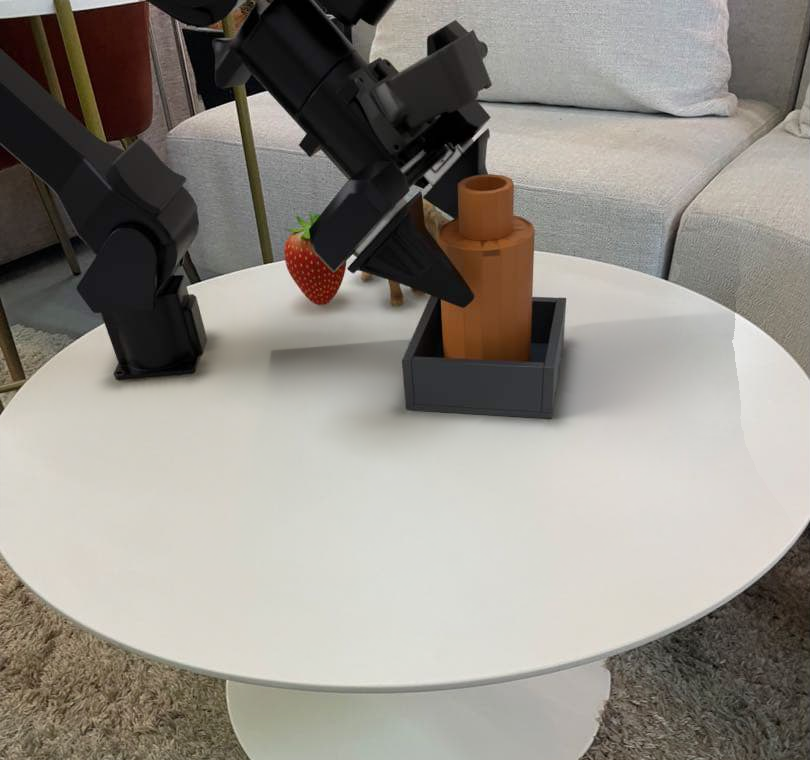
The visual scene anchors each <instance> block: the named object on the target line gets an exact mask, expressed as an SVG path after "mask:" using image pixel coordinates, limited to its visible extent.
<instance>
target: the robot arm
mask: <svg viewBox="0 0 810 760" xmlns="http://www.w3.org/2000/svg"><path fill="white" fill-rule="evenodd" d="M145 1H146V2H147V3H149V4H151V5H152V6H154V7H155V8H157V9H159V10H160V11H162V12H163V13H165V14H166V15H168V16H170V17H171V18H173V19H174V20H176V21H178V22H180V23H181V24H183V25H187V26H191V27H195V28H205V27H210V26H214V25H215V24H217V23H219V22H220V21H223V20H224V19H227V18H228V17H229V16H230V15H231V14H232V13H234V12H235V11H236V10H237V9H239V8H240V7H241V6H242V5H243V4H245V3H246V2H247V0H145ZM317 1H318V2H319V3H320V5H321V6H323V8H324V9H326V11H327V12H328V13H330V15H331V16H333V18H335V19H336V20H337V21H338V22H340V23H341V24H342V25H343V26H345V27H347V28H349V29H353V28H354V27H355V26H357V25H358V24H359V22H360V21H363V22H364V23H366V24H368V25H370V26H372V27H377V26H378V25H379V23H380V22H381V21H382V20H383V18H384V17H385V16H386V14H387V13H388V12H389V10H390V9H391V8H392V7H393V6H394V4H395V3H396V2H397V0H317ZM212 47H213V51H214V56H215V63H214V64H215V65H214V80H215V84H216V87H218V88H219V89H228V88H233V87H239V86H244V85H245V84H246V83H247V82H248V81H249V79H250V77H251V76H253V77H254V78H255V79H256V80H257V81H258V82H259V84H261V86H262V87H263V88H264V89H265V90H266V91H267V93H269V95H271V97H272V98H273V99H274V100H275V101H276V102H277V104H279V106H281V108H282V109H284V111H285V112H286V113H287V114H288V115H289V117H291V119H292V120H293V121H294V122H295V123H296V124H297V125H298V126H299V127H300V129H301V130H302V131H303V132H304V133H305V135H304V136H303V137H302V139H301V141H299V143H298V146H299V147H300V149H302V150H303V152H304V153H305V154H306V155H307V156H308V157H309V158H311V157H313V156H314V155H315V154H317V153H318V152H320V151H321V152H323V154H324V155H325V156H326V157H327V158H328V159H329V160H330V161H331V163H332V164H333V165H334V166H335V167H336V169H338V170H339V171H340V173H342V174H343V176H344V177H345V178H346V179H347V181H346V182H345V183H344V185H343V186H342V187H341V189H340V190H339V191H338V192H337V193H336V194H335V196H334V197H333V199H332V200H331V201H330V202H329V203H328V205H327V206H326V207H325V208H324V210H323V211H322V212H321V213H320V214H319V215H320V216H319V217H318V218H317V220H316V221H315V222H314V223H313V225H312V226H311V227H310V228H309V234H310V241H311V248H312V251H313V252H314V253H315V254H316V255H317V256H318V257H319V258H320V259H321V260H322V261H323V262H324V264H325V265H326V266H327V267H328V268H329V269H330V270H331V271H332V272H333V273H334V272H335V271H336V270H337V269H338V268H339V267H340V266H341V265H342V264H343V263H344V262H345V261H346V260H347V261H348V260H350V258H351V257H352V256H354V255H353V254H354V252H355V251H356V252H357V253H358V254H359V256H358V257H355V259H354V260H353V261H352V262H351V263H350V265H348V267H346V269H347V271H348V272H350V273H351V274H355V273H357V272H361V273H362V272H365V273H369V274H372V275H373V276H375V277H379V278H382V279H385V280H387V281H388V280H391V281H394V282H397V283H400V285H403V286H406V287H408V288H409V289H411V288H413V289H416V290H418V291H421V292H423V293H426V294H425V295H428V296H434V297H436V298H439V299H441V300H444V301H446V302H449V303H451V304H454V305H456V306H459V307H461V308H464V307H466V306H467V305H468V304H470V303H471V302H472V301H473V299H474V297H475V296H474V293H473V292H472V290H471V289H470V287H469V286H468V284H467V283H466V281H465V280H464V278H463V277H462V275H461V274H460V273H459V271H458V270H457V269H456V267H455V266H454V265H453V263H452V262H451V261H450V259H449V258H448V257H447V255H446V254H445V253H444V251H443V250H442V249H441V247H440V246H439V245H438V243H437V242H436V241H435V239H434V238H433V237H432V235H431V234H430V233H429V231H428V230H427V228H426V226H425V220H424V209H423V198H424V199H425V200H427V201H428V202H430V203H431V204H433V205H434V206H435V208H437V209H438V210H440V211H441V212H443V213H444V214H447V215H448V216H449V217H450V218H452V219H455V218H459V215H458V183H459V182H461V181H462V180H463V179H465V178H468V177H472V176H476V175H485V174H489V173H488V169H487V165H486V161H487V151H488V150H487V149H488V140H489V139H490V137H491V133H490V132H491V131H490V128H488V127H487V129H485V130H484V131H483V132H482V133H481V134H480V135H479V136H478V137H477V138H476V139H475V140H474V139H473V138H475V136H476V135H477V133H479V132H480V130H482V128H483V127H484V126H485V125H486V124H487V123H488V122H489V121H490V119H491V118H492V117H491V116H490V114H489V113H488V112H487V110H485V108H484V107H483V106H482V105H481V103H479V101H478V100H477V98H478V97H479V92H480V91H482V90H488V89H490V87H492V85H493V84H492V81H491V78H490V75H489V72H488V70H487V68H486V65H485V62H484V58H487V55H488V53H489V47H488V45H487V44H486V43H485V42H484V41H481V40H479V37H478V36H477V33H476V31H475V30H474V29H472V30H471V31H468V30H467V29H466V28H464V26H463V25H462V24H461V23H460V22H458V20H457V19H455V20H453V21H451V22H450V23H448V24H446V25H445V26H443V27H441V28H439V29H437V30H435V31H434V32H432V33H430V34H429V35H428V36H427V38H426V56H425V57H423V58H421V59H419V60H418V61H415V63H413V64H411V65H409V66H408V67H406V68H404V69H402V70H401V71H399V70H398V69H397V68H396V67H395V66H394V64H392V62H391V61H390V60H388V59H386V58H383V59H382V58H381V57H378V58H377V59H374V60H373V61H371V62H368V61H367V60H366V58H364V56H363V55H362V54H361V53H360V51H358V49H357V48H356V47H355V46H354V45H353V44H352V43H351V42H350V40H349V39H348V38H347V37H346V36H345V35H344V34H343V32H342V31H341V30H340V29H339V27H338V26H337V25H335V23H334V22H333V21H332V19H331V18H330V17H329V16H328V15H327V14H326V13H325V11H324V10H323V9H322V8H321V7H320V6H319V5H318V3H316V1H315V0H272V1H271V2H268V1H265V0H257V1H256V2H255V3H254V5H253V7H252V8H251V9H250V11H249V12H248V14H247V16H246V17H245V18H244V20H243V21H242V23H241V24H240V26H239V27H238V29H237V31H236V32H235V33H234V35H233V37H232V38H231V37H219V38H218V37H217V38H214V39H212ZM0 145H1V147H2V148H4V149H5V150H6V151H7V152H8V153H10V154H11V155H12V156H13V157H14V158H15V159H17V161H18V162H20V163H21V164H23V166H24V167H26V168H27V169H29V171H31V173H33V174H34V175H35V176H36V177H38V178H39V179H40V180H41V181H42V183H44V184H46V185H47V186H48V187H49V188H50V190H52V191H53V192H54V193H55V195H56V196H57V198H58V200H59V201H60V203H61V205H62V208H63V209H64V211H65V213H66V215H67V217H68V219H69V221H70V223H71V225H72V227H73V228H74V230H75V233H76V234H77V236H78V237H79V238H80V239H81V241H83V243H84V244H85V245H86V246H87V247H88V248H89V249H90V250H91V252H93V254H94V255H95V257H94V259H93V260H92V262H91V264H90V265H89V267H87V270H86V272H85V273H84V275H83V276H82V278H81V279H80V280H79V282H78V284H77V286H76V291H77V293H78V294H79V296H80V297H81V299H82V300H83V301H84V303H85V304H86V305H87V306H88V308H89V309H90V310H91V312H92V313H94V314H101V318H102V321H103V323H104V326H105V329H106V332H107V334H108V337H109V340H110V343H111V346H112V349H113V351H114V354H115V357H116V360H117V365H116V367H115V370H114V372H113V377H114V380H116V381H129V380H130V381H131V380H141V379H151V378H164V377H176V376H188V375H193V374H195V373H196V372H197V369H198V366H199V363H200V360H201V357H203V354H204V353H205V349H206V345H207V343H208V336H207V333H206V329H205V324H204V321H203V317H202V313H201V309H200V306H199V302H198V297H197V296H196V295H195V294H194V293H191V294H189V291H188V287H187V283H186V279H185V275H184V274H176V273H177V271H178V270H179V268H180V267H182V266H183V265H184V264H185V257H186V253H187V251H188V250H189V248H190V247H191V245H192V244H193V242H194V240H195V239H196V237H197V236H198V232H199V225H200V220H199V214H198V204H197V203H196V201H195V199H194V198H193V196H192V195H191V193H190V192H189V191H188V190H187V188H186V187H184V184H185V183H186V182H187V177H186V176H185V175H182V174H179V173H177V172H175V171H174V170H173V169H171V168H170V167H168V166H167V165H166V164H165V163H164V162H163V161H162V160H161V158H160V157H159V156H158V155H157V154H156V152H155V151H154V150H153V148H152V147H151V146H150V145H149V144H148V143H147V142H145V141H144V140H143V139H141V138H137V139H136V140H135V141H134V142H133V143H132V144H131V145H130V146H128V148H127V149H123V148H120V147H118V146H116V145H113V144H111V143H108V142H105V141H104V140H102V139H100V138H99V137H98V136H96V135H95V134H93V132H92V131H91V130H89V128H87V127H86V126H85V125H84V124H83V123H82V122H81V121H80V120H78V118H77V117H75V115H73V114H72V113H71V112H70V111H69V110H67V108H66V107H65V106H63V105H62V104H61V103H60V102H59V101H58V100H57V99H56V98H55V97H53V95H51V94H50V93H49V92H48V91H47V90H46V88H44V87H43V86H42V85H41V84H40V83H38V81H37V80H35V79H34V78H33V77H32V76H31V75H30V74H29V73H28V72H26V71H25V70H24V69H23V68H22V67H21V65H19V64H18V63H17V62H16V61H14V60H13V58H11V56H9V55H8V54H7V53H6V52H5V51H4V50H3V49H2V48H0ZM429 185H431V187H430V189H429V190H428V191H427V192H426V193H425V194H424V195H423V192H422V191H421V190H419V191H418V192H417V193H416V194H415V195H414V196H413V197H411V199H410V200H408V201H406V200H405V197H406V195H407V194H408V193H409V192H411V190H410V189H411V188H412V187H413V186H416V187H417V188H420V189H422V190H424V189H425V188H426V187H428V186H429Z"/></svg>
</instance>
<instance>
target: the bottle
mask: <svg viewBox="0 0 810 760" xmlns="http://www.w3.org/2000/svg"><path fill="white" fill-rule="evenodd" d="M514 195H515V183H514V181H513V179H512V178H510V177H509V176H505V175H503V174H493V173H492V174H491V173H488V174H485V175H476V176H472V177H468V178H465V179H463V180H462V181H461V182H459V183H458V215H459V218H455V219H454V218H452V219H451V220H450V221H449V222H447V223H445V224H444V225H443V226H442V227H441V228H440V229H439V231H438V245H439V246H440V247H441V249H442V250H443V251H444V253H445V254H446V255H447V257H448V258H449V259H450V261H451V262H452V263H453V265H454V266H455V267H456V269H457V270H458V271H459V273H460V274H461V275H462V277H463V278H464V280H465V281H466V283H467V284H468V286H469V287H470V289H471V290H472V292H473V293H474V296H475V297H474V299H473V301H472V302H471V303H470V304H468V305H467V306H466V307H464V308H461V307H459V306H456V305H454V304H451V303H449V302H446V301H444V300H441V312H442V334H443V356H444V358H457V359H478V360H499V361H520V362H530V351H531V322H532V297H533V290H534V289H533V288H534V264H535V263H534V262H535V232H536V231H535V228H534V225H533V223H532V222H530V221H529V220H527V219H526V218H524V217H522V216H519V215H514V201H515V200H514V198H515V196H514Z"/></svg>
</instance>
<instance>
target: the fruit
mask: <svg viewBox="0 0 810 760" xmlns="http://www.w3.org/2000/svg"><path fill="white" fill-rule="evenodd" d="M308 215H309V222H307V221H305V220H303V219H302V218H301V217H300V216H299V215H297V214H295V217H296V221H297V222H298V224H299V225H300V226H301V227H299V228H286V227H284V228H283V229H284V230H285V231H287V232H290V233H291V234H290V235H288V237H287V239H286V241H285V244H284V248H283V253H284V254H283V255H284V260H285V266H286V268H287V271H288V273H289V275H290V277H291V278H292V280H293V281H294V283H295V284H296V286H297V287H298V288H299V290H300V291H301V293H302V294H303V295H304V296H305V297H306V298H307V299H308V301H310V302H311V303H312V304H314V305H317V306H325V305H327V304H329V303H330V302H331V301H332V300H333V299H334V298H335V296H336V295H337V293H338V291H340V288H341V285H342V283H343V280H344V277H345V274H346V269H347V261H348V260H346V261H345V262H344V263H343V264H342V265H341V266H340V267H339V268H338V269H337V270H336V271H335V272H334V273H333V272H332V271H331V270H330V269H329V268H328V267H327V266H326V265H325V264H324V262H323V261H322V260H321V259H320V258H319V257H318V256H317V255H316V254H315V253H314V252H313V251H312V248H311V241H310V234H309V228H310V227H311V226H312V225H313V223H314V222H315V221H316V220H317V218H318V217H319V216H320V215H321V214H319V213H316V214H314V215H313V217H312V212H311V211H309V212H308Z"/></svg>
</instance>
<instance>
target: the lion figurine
mask: <svg viewBox="0 0 810 760" xmlns="http://www.w3.org/2000/svg"><path fill="white" fill-rule="evenodd" d="M422 198H423V197H422ZM423 209H424V220H425V226H426V228H427V230H428V231H429V233H430V234H431V235H432V237H433V238H434V239H435V241H436V242H437V243H438V231H439V229H440V228H441V227H442V226H443V225H444V224H445V223H447V222H449V221H451V220H450V219H449V218H447V217H445V216H444V215H443V213H441V211H438V210H437V209H436V206H434V205H433V204H431V203H430V202H428V201H427V200H425V199H424V198H423ZM352 256H354V257H355V258H357V257H358V256H359V254H358V253H357V252H356V251H355V252H354V254H353V255H352ZM360 280H361V282H369V281H372V280H374V275H372V274H369V273H365V272H362V271H361V275H360ZM387 281H388V286H389V291H390V300H389V302H390V304H389V305H390V306H392V307H401V306H403V305H404V304H405V299H404V294H403V291H402V289H401V284H400V283H397V282H394V281H391V280H387ZM410 291H411V293H412V294H413V295H414V296H417V297H424V296H425V295H427V294H426V293H423V292H421V291H418V290H416V289H413V288H410Z"/></svg>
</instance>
